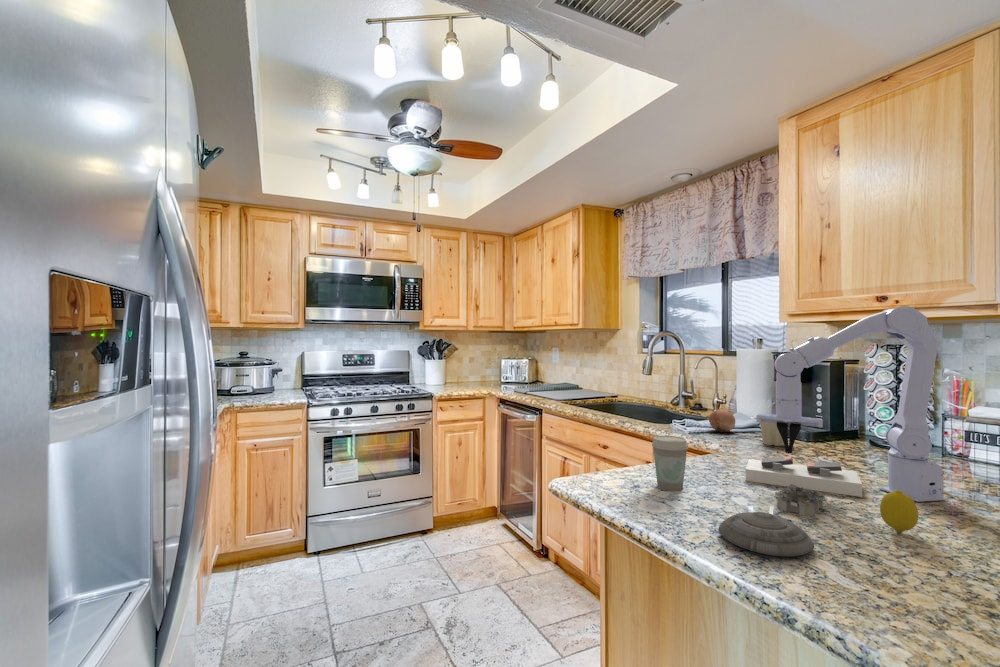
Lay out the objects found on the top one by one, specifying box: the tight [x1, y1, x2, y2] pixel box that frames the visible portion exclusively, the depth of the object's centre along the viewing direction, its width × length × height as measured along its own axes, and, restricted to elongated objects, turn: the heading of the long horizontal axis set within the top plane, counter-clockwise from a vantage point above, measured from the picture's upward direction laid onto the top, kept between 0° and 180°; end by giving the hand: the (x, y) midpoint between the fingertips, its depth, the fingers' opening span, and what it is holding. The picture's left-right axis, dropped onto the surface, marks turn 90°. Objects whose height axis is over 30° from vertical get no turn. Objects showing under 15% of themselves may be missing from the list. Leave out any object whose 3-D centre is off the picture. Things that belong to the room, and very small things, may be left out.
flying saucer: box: [718, 511, 815, 557], centre depth 85 cm, size 15×15×6 cm
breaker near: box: [806, 461, 842, 471], centre depth 119 cm, size 7×5×2 cm
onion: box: [708, 407, 736, 434], centre depth 186 cm, size 10×9×10 cm
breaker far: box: [761, 455, 794, 466], centre depth 124 cm, size 7×5×2 cm
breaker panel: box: [745, 456, 863, 498], centre depth 121 cm, size 24×12×5 cm, turn 58°
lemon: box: [879, 490, 919, 534], centre depth 90 cm, size 6×6×8 cm
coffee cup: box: [651, 435, 689, 492], centre depth 117 cm, size 8×8×12 cm
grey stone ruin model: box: [774, 484, 826, 517], centre depth 103 cm, size 11×8×4 cm
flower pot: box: [758, 421, 787, 447], centre depth 164 cm, size 9×9×9 cm
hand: (788, 452), depth 122 cm, fingers closed
